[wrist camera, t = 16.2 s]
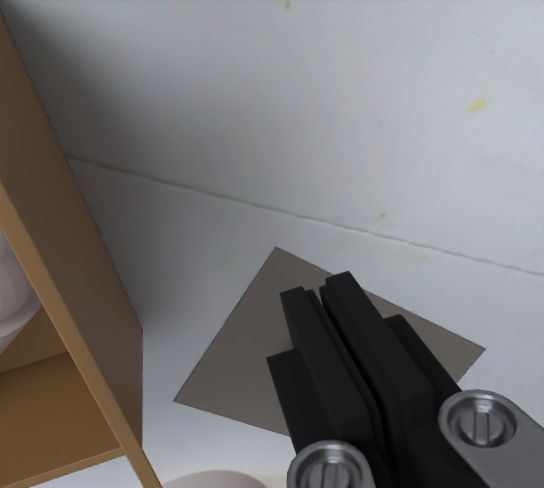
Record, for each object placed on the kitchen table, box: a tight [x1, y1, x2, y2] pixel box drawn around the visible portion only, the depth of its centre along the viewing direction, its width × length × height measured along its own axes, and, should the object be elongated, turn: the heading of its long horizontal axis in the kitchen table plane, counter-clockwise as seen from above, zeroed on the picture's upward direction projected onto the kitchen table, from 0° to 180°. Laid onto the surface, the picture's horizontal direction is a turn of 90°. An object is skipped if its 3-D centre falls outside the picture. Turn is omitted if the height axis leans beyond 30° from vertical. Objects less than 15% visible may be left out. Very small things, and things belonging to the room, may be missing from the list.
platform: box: [174, 247, 486, 437], centre depth 31 cm, size 12×18×7 cm, turn 57°
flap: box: [0, 178, 162, 488], centre depth 14 cm, size 18×6×1 cm
